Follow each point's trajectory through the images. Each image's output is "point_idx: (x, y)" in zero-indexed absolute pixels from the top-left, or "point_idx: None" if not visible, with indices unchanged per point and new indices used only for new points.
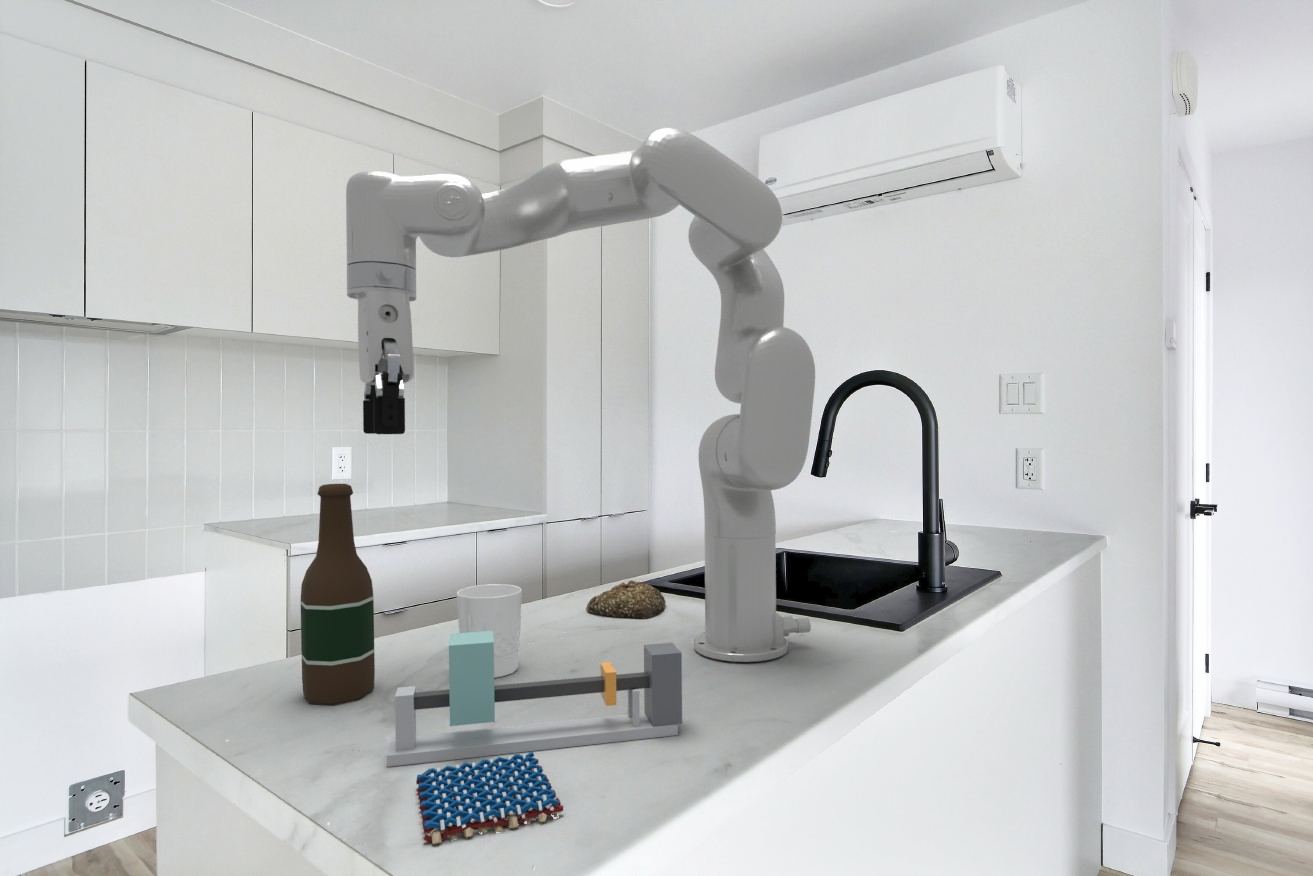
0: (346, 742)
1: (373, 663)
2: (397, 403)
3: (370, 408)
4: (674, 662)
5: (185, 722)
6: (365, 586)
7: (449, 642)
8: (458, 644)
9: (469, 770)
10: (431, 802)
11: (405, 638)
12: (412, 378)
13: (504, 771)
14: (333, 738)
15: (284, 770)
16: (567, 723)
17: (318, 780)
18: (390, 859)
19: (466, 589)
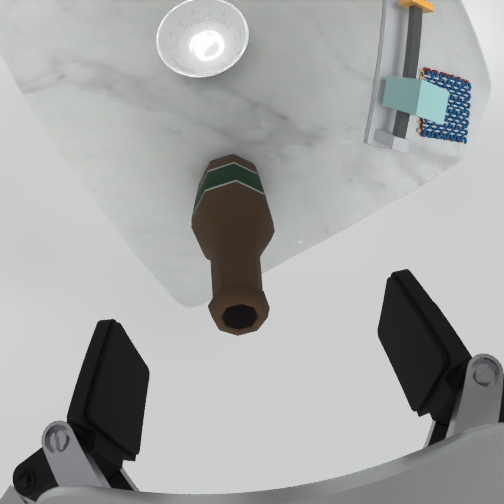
0: (339, 169)
1: (235, 160)
2: (465, 348)
3: (134, 428)
4: None
5: None
6: (251, 194)
7: (437, 122)
8: (443, 117)
9: None
10: (452, 136)
11: (71, 143)
12: (484, 432)
13: None
14: (328, 178)
15: (364, 202)
16: (390, 29)
17: (386, 184)
18: (462, 156)
19: (171, 65)
